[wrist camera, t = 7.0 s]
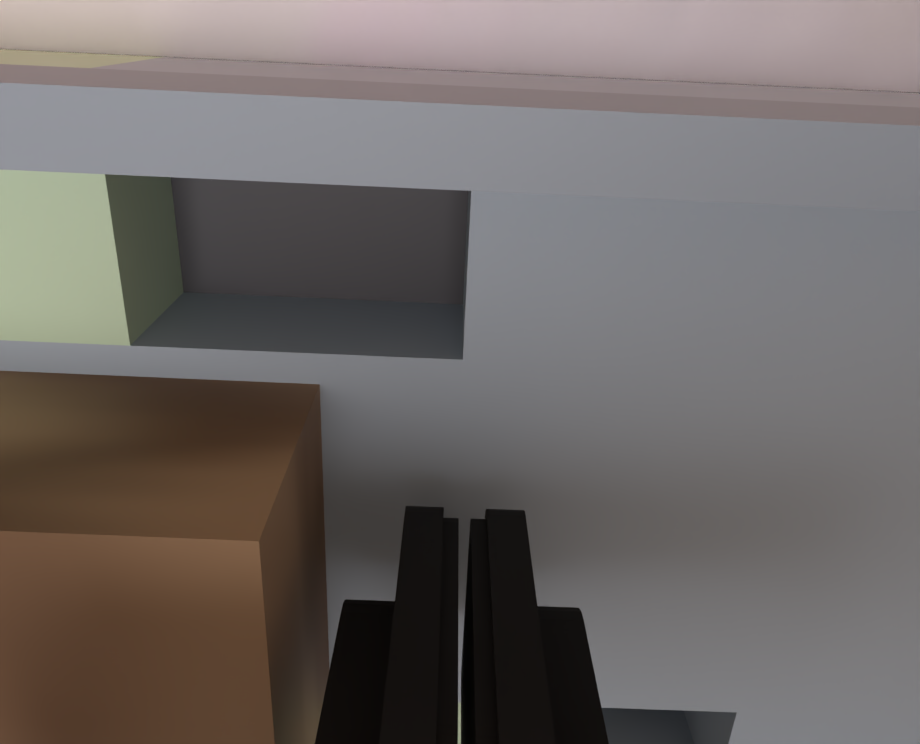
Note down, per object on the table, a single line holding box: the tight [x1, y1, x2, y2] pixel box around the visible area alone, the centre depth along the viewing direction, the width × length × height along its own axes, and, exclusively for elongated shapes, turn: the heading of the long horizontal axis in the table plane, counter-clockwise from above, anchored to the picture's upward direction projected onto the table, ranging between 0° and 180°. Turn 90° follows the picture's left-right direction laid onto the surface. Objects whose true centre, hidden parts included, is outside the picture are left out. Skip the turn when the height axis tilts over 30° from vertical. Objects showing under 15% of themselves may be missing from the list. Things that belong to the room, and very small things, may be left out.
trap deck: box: [0, 49, 920, 744], centre depth 12 cm, size 22×13×4 cm, turn 87°
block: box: [0, 371, 329, 744], centre depth 10 cm, size 6×6×4 cm
